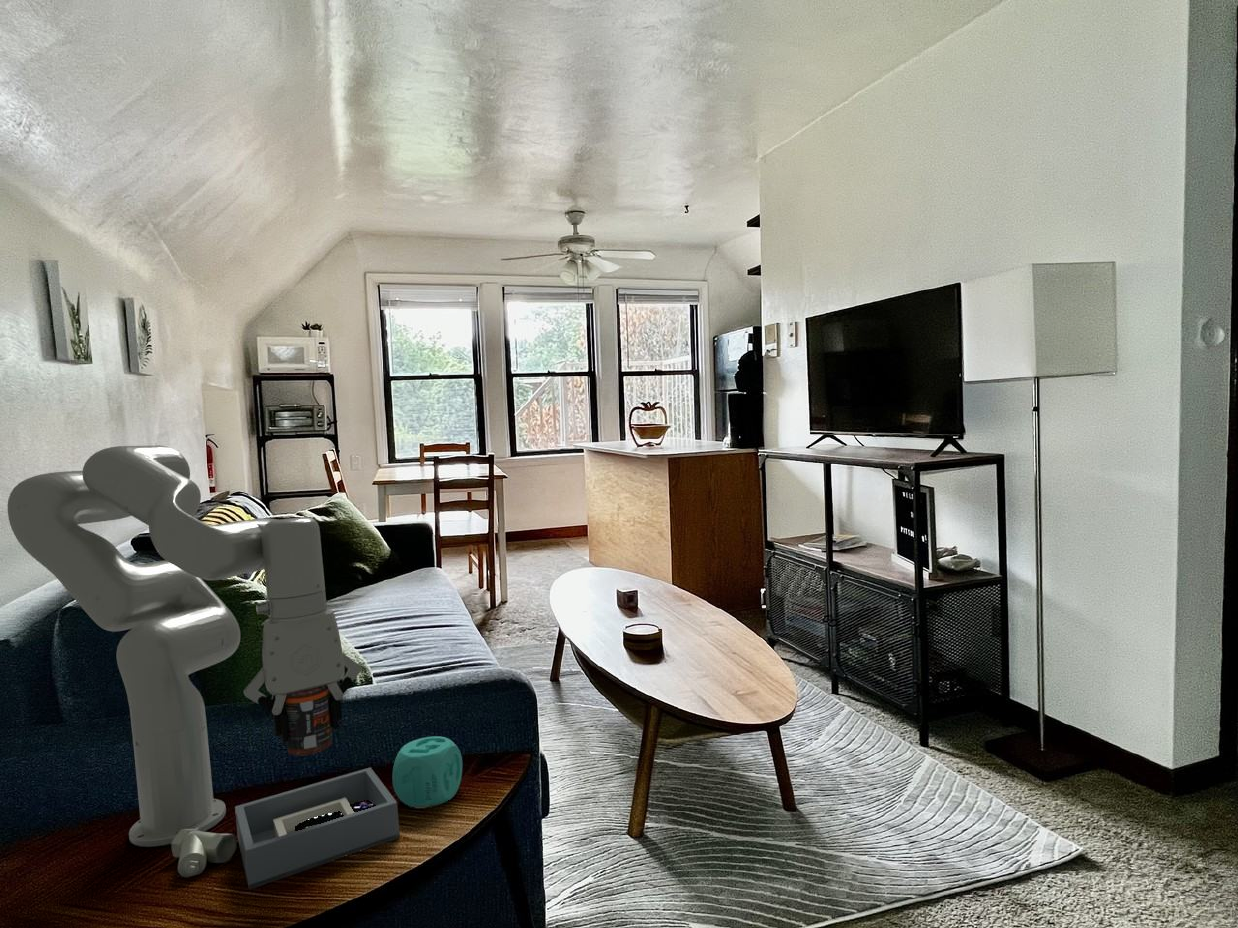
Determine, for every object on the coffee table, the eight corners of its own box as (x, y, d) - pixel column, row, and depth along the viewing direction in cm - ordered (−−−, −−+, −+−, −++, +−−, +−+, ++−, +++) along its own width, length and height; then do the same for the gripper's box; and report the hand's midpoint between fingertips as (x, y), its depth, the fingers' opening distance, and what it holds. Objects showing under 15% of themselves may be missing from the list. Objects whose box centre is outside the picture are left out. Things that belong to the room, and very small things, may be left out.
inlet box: (238, 840, 106) (234, 806, 106) (373, 798, 116) (370, 767, 116) (249, 889, 93) (245, 850, 93) (400, 837, 103) (396, 802, 103)
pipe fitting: (196, 886, 96) (238, 854, 102) (191, 858, 96) (234, 827, 102) (151, 878, 99) (195, 848, 105) (146, 851, 98) (190, 822, 105)
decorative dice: (393, 808, 112) (389, 756, 112) (419, 783, 120) (415, 735, 120) (442, 810, 110) (437, 757, 110) (464, 785, 118) (460, 736, 118)
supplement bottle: (322, 755, 101) (315, 674, 101) (279, 759, 101) (272, 677, 101) (339, 738, 107) (332, 661, 107) (299, 742, 107) (292, 665, 107)
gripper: (231, 622, 96) (244, 759, 96) (367, 598, 105) (378, 723, 105) (226, 614, 102) (239, 742, 103) (355, 592, 111) (366, 710, 112)
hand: (309, 731), depth 104 cm, fingers closed on supplement bottle, 6 cm apart
